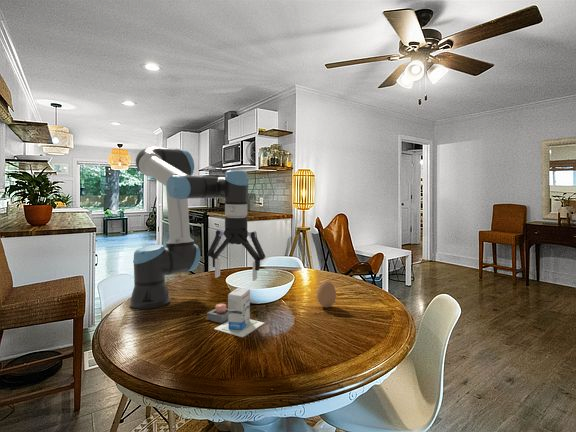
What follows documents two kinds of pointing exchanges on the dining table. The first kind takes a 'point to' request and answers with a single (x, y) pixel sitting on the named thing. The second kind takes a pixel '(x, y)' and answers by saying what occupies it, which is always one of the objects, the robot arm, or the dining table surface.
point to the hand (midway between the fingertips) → (235, 278)
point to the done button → (221, 308)
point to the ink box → (239, 308)
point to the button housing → (217, 316)
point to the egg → (326, 294)
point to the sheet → (246, 330)
